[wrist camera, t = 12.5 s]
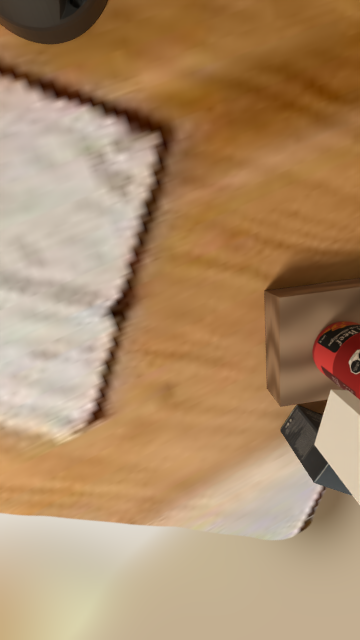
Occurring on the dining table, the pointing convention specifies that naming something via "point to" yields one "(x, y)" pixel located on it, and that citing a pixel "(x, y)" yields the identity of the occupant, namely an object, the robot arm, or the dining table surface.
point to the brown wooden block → (304, 336)
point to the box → (310, 447)
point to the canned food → (340, 355)
